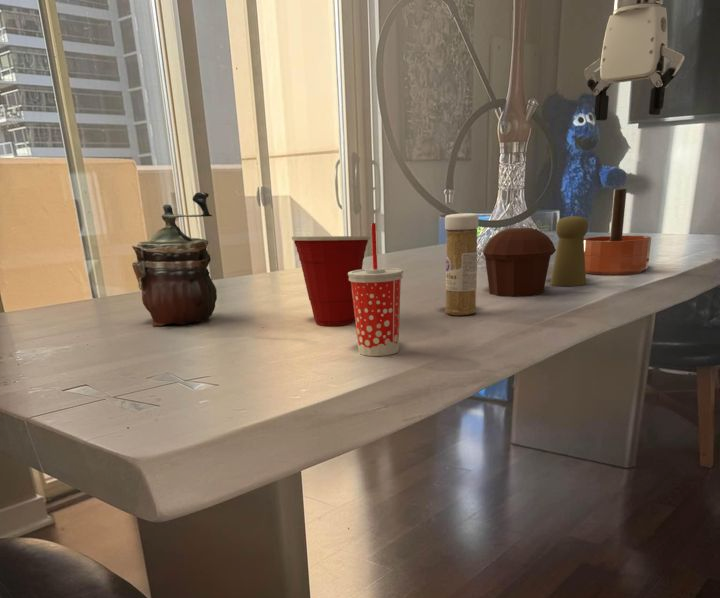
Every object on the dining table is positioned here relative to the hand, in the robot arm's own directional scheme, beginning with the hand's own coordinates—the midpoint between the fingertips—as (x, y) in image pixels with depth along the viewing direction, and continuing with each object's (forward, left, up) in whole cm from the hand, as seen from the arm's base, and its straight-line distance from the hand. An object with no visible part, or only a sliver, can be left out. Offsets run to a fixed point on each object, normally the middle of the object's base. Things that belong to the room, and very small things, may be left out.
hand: (627, 117), depth 122 cm
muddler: (0, 0, -26) cm, 26 cm away
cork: (+13, +13, -26) cm, 32 cm away
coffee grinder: (+75, +30, -26) cm, 85 cm away
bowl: (0, 0, -26) cm, 26 cm away
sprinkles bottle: (+35, +36, -26) cm, 57 cm away
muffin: (+23, +19, -26) cm, 40 cm away
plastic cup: (+53, +37, -26) cm, 70 cm away
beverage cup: (+48, +57, -26) cm, 79 cm away
